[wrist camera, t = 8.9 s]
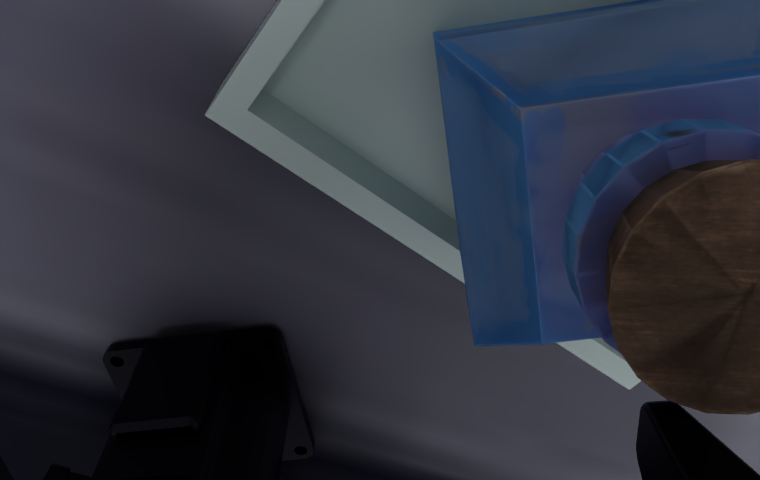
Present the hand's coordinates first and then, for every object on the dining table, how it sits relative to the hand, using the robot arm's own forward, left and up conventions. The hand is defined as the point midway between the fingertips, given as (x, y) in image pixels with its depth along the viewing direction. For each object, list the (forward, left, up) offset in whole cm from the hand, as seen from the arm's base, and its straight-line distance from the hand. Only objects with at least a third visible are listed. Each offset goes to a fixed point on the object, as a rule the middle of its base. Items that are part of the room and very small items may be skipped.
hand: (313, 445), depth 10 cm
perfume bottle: (-1, -6, -12) cm, 13 cm away
